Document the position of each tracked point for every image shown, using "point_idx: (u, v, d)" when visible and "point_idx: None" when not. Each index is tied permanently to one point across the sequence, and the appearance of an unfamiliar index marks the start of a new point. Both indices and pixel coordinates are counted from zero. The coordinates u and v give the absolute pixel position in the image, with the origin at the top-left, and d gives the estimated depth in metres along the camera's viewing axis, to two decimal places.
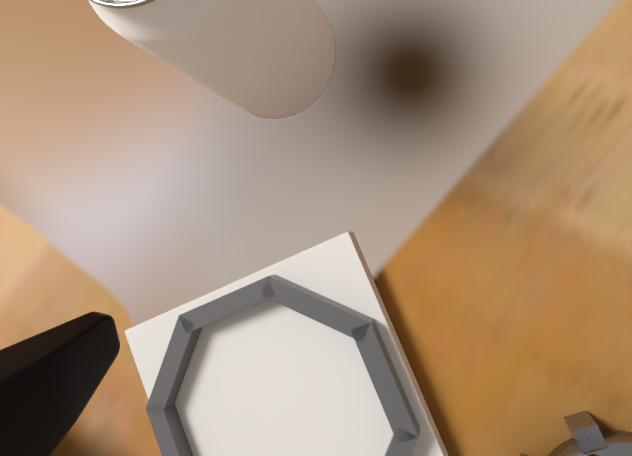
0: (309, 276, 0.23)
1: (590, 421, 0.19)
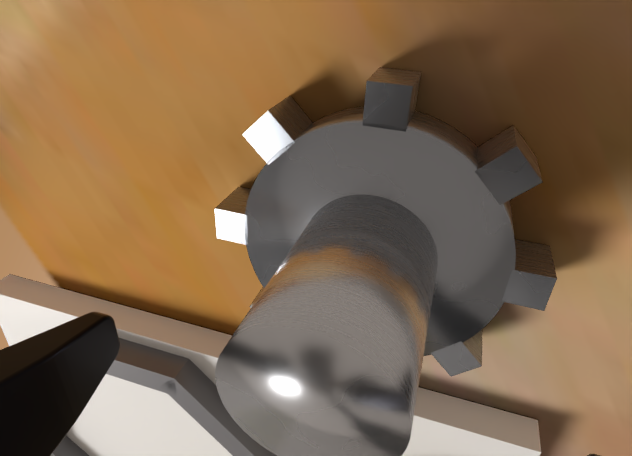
0: None
1: (221, 206, 0.13)
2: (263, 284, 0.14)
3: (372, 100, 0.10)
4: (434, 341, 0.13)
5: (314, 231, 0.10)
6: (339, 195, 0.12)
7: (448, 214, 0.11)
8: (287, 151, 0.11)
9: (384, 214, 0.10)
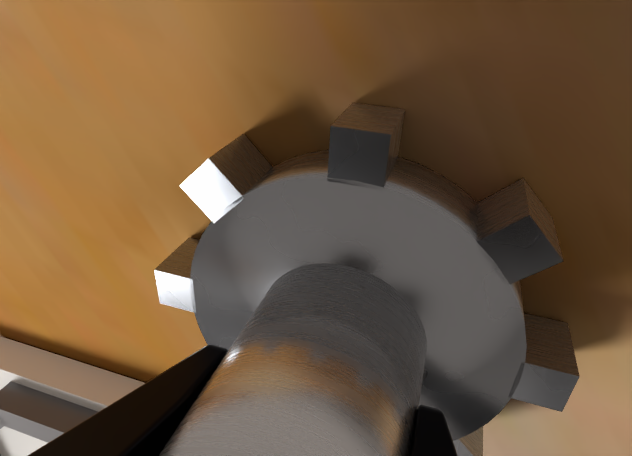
0: None
1: (164, 264, 0.11)
2: None
3: (338, 150, 0.08)
4: None
5: (263, 320, 0.08)
6: (302, 263, 0.09)
7: (439, 293, 0.08)
8: (235, 207, 0.09)
9: (356, 295, 0.08)
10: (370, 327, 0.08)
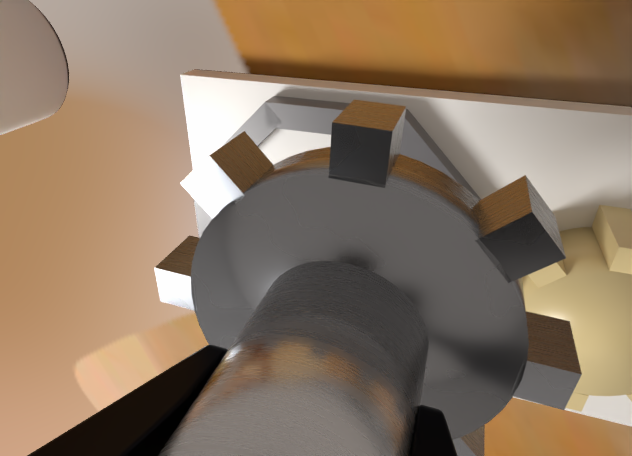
0: (213, 138, 0.20)
1: (165, 262, 0.11)
2: None
3: (340, 147, 0.08)
4: None
5: (265, 318, 0.08)
6: (303, 260, 0.09)
7: (441, 290, 0.08)
8: (236, 205, 0.09)
9: (356, 293, 0.08)
10: (372, 324, 0.08)
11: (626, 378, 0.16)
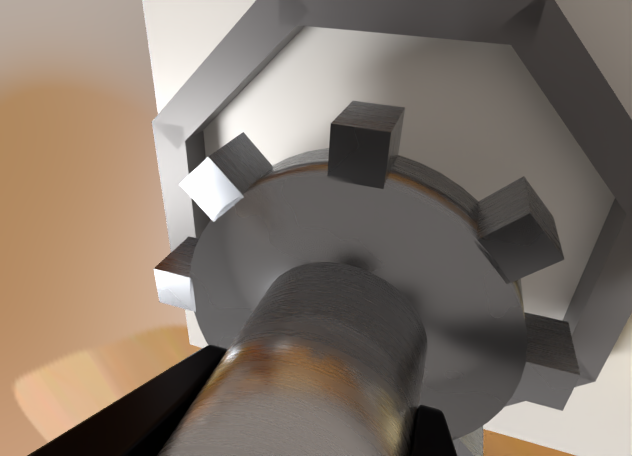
0: (189, 56, 0.12)
1: (164, 263, 0.11)
2: None
3: (338, 148, 0.08)
4: None
5: (263, 319, 0.08)
6: (302, 261, 0.09)
7: (440, 291, 0.08)
8: (235, 205, 0.09)
9: (355, 294, 0.08)
10: (370, 326, 0.08)
11: None
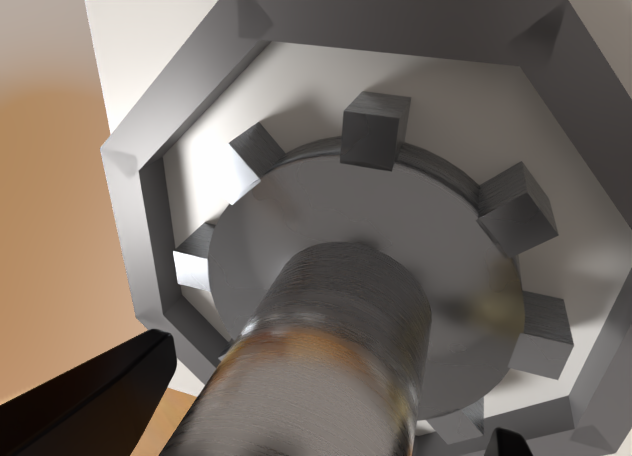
0: (142, 73, 0.11)
1: (183, 246, 0.12)
2: (232, 335, 0.12)
3: (350, 134, 0.08)
4: (428, 406, 0.11)
5: (280, 292, 0.08)
6: (315, 241, 0.10)
7: (444, 268, 0.09)
8: (252, 189, 0.10)
9: (365, 270, 0.09)
10: (380, 297, 0.08)
11: None
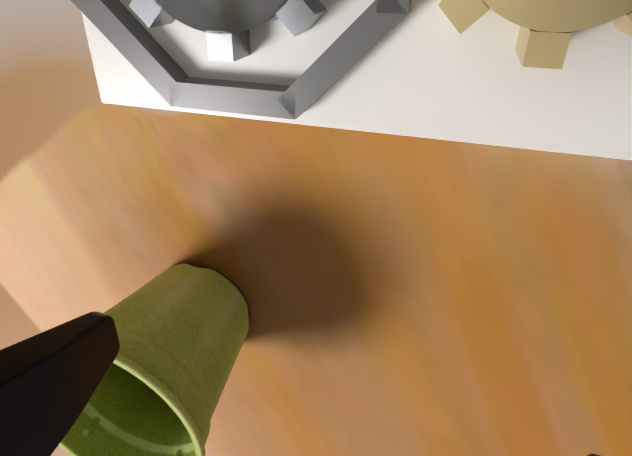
0: None
1: None
2: None
3: None
4: None
5: None
6: None
7: None
8: None
9: None
10: None
11: None
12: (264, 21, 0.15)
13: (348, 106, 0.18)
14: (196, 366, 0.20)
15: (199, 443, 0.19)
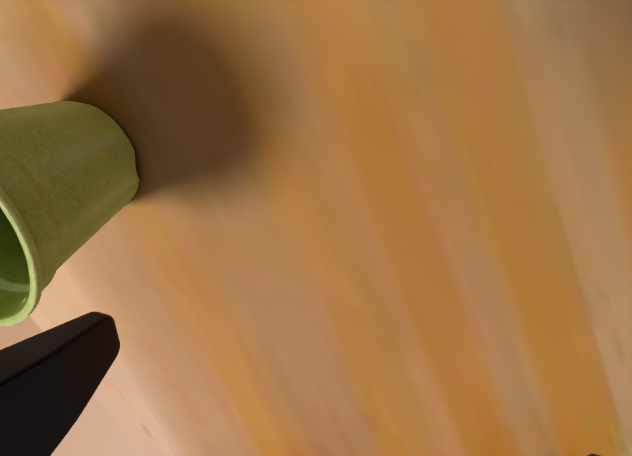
0: None
1: None
2: None
3: None
4: None
5: None
6: None
7: None
8: None
9: None
10: None
11: None
12: None
13: None
14: (42, 173, 0.18)
15: (26, 240, 0.16)
